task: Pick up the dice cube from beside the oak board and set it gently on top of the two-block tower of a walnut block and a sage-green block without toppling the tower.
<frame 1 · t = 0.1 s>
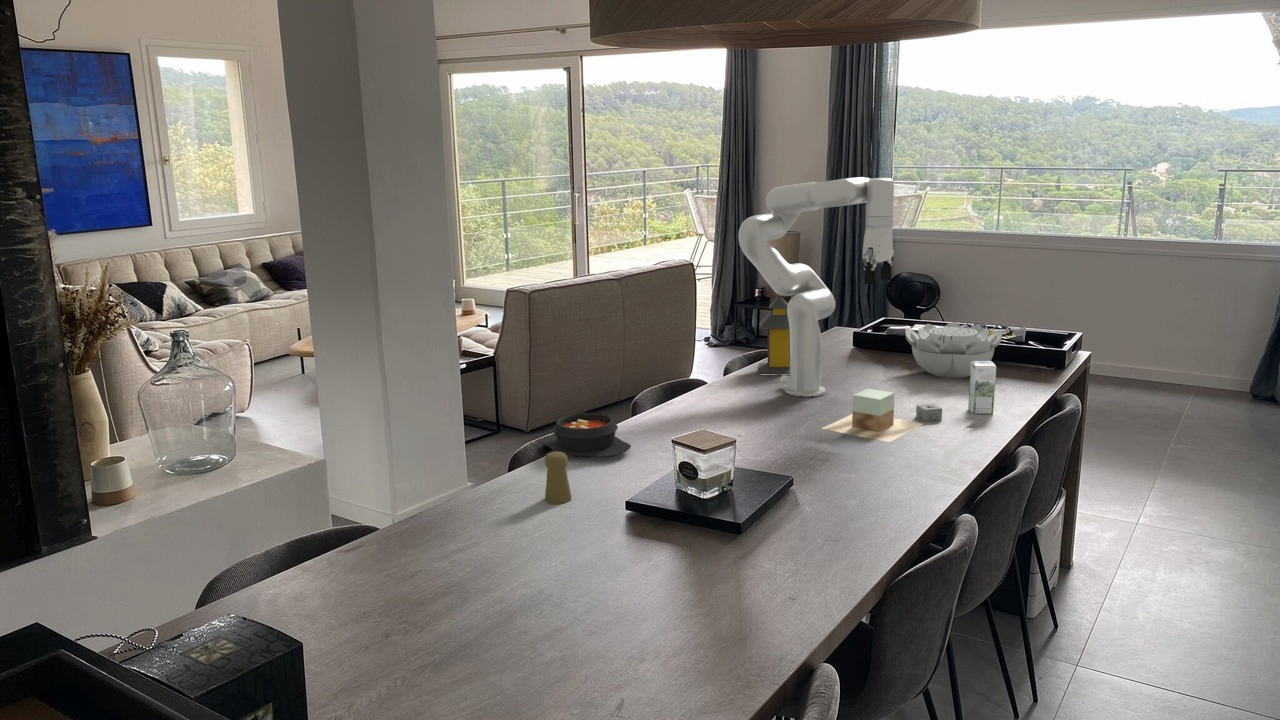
hand: (877, 281, 271), 37 cm above the table, tool pointing down, fingers open, 9 cm apart
sage block: (873, 410, 253), point 6 cm above the table, touching walnut block
oak board: (872, 431, 255), on the table
decorative bowl: (948, 375, 311), on the table
walnut block: (872, 426, 254), point 1 cm above the table, touching oak board, sage block
lantern: (779, 370, 324), on the table
olive peg figure: (558, 500, 214), on the table
casserole: (586, 451, 246), on the table
syrup box: (980, 412, 269), on the table
dice cube: (928, 424, 260), on the table
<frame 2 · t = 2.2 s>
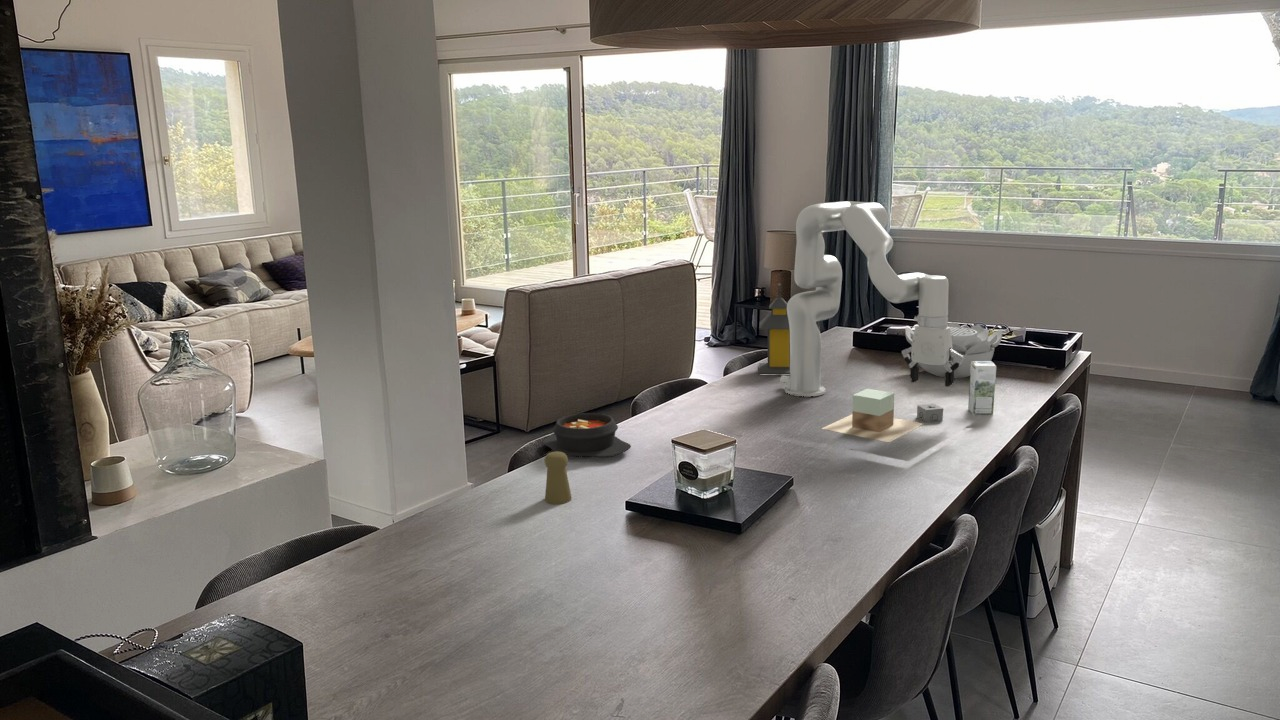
hand: (931, 383, 257), 12 cm above the table, tool pointing down, fingers open, 9 cm apart
nothing on the table moved.
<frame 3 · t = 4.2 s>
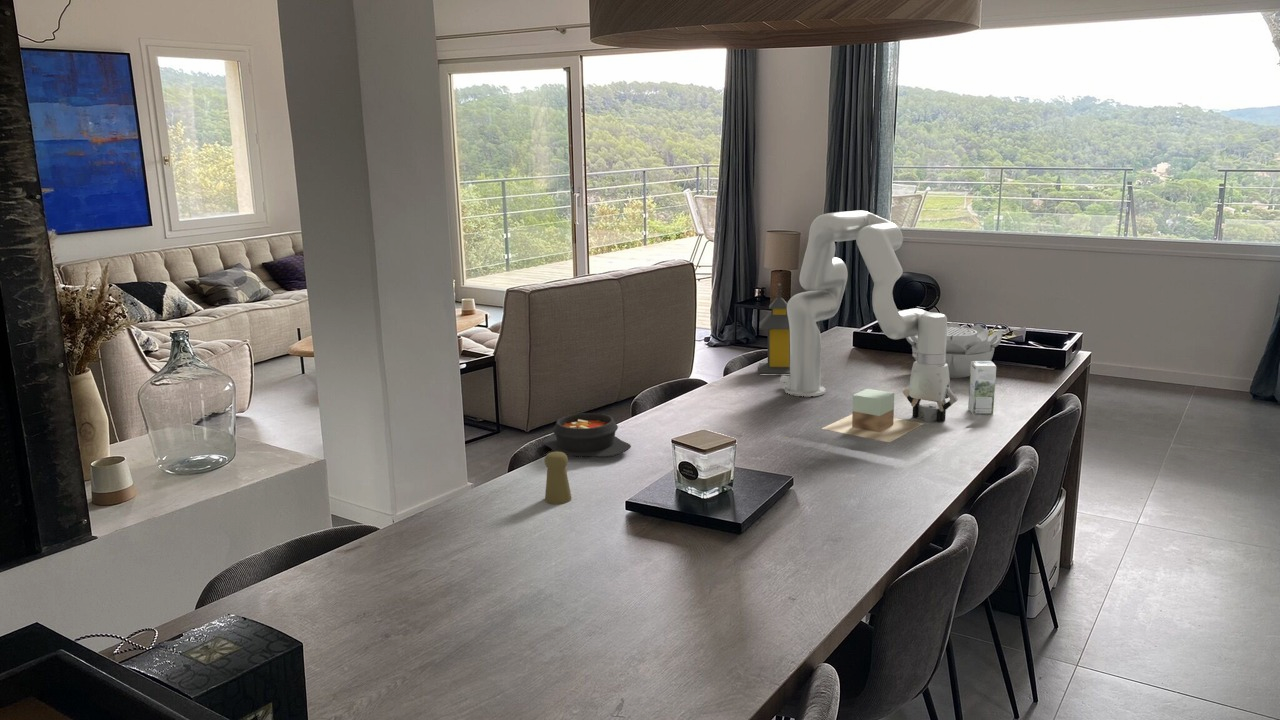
hand: (928, 421, 260), 1 cm above the table, tool pointing down, fingers closed on dice cube, 6 cm apart
dice cube: (930, 424, 259), on the table, touching gripper
everything else where it was.
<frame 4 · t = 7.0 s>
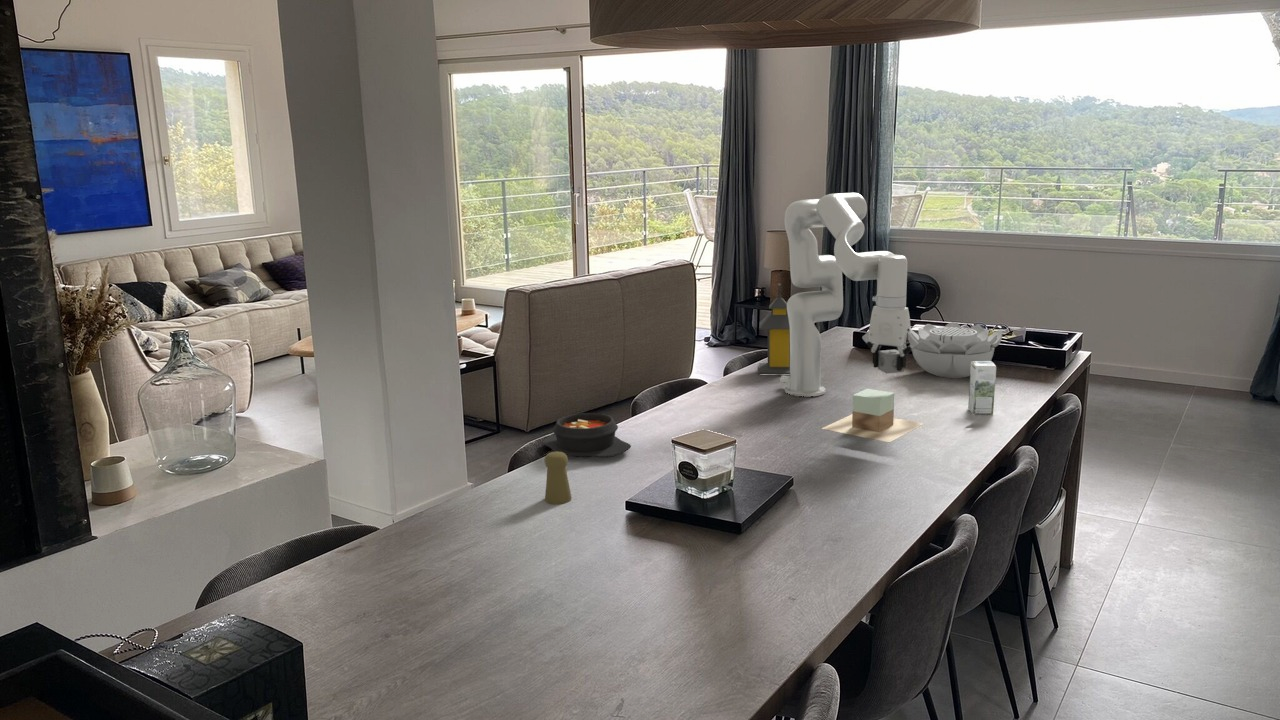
hand: (888, 367, 252), 17 cm above the table, tool pointing down, fingers closed on dice cube, 6 cm apart
dice cube: (890, 371, 252), point 16 cm above the table, touching gripper
everything else where it was.
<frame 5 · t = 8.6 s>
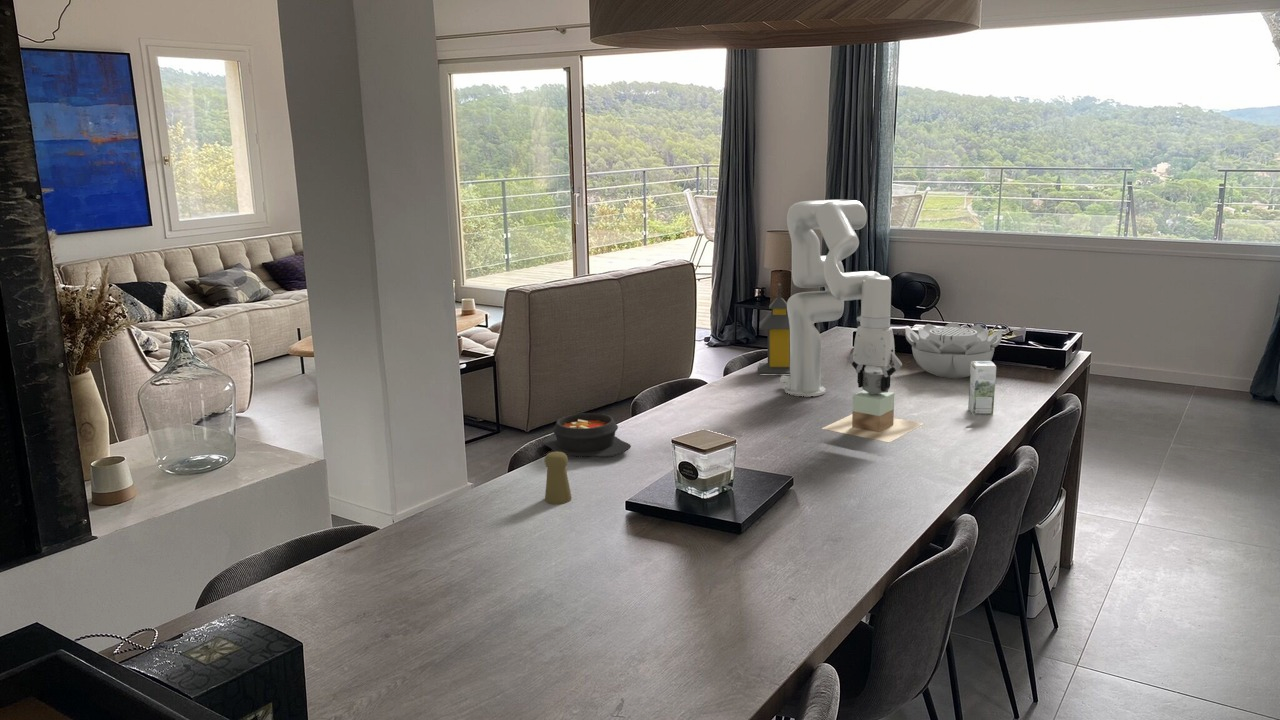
hand: (873, 387, 252), 12 cm above the table, tool pointing down, fingers closed on dice cube, 6 cm apart
dice cube: (875, 391, 252), point 11 cm above the table, touching gripper
everything else where it was.
when the fingers open (12 cm above the table, at t = 9.8 s): dice cube stays where it is, resting on sage block.
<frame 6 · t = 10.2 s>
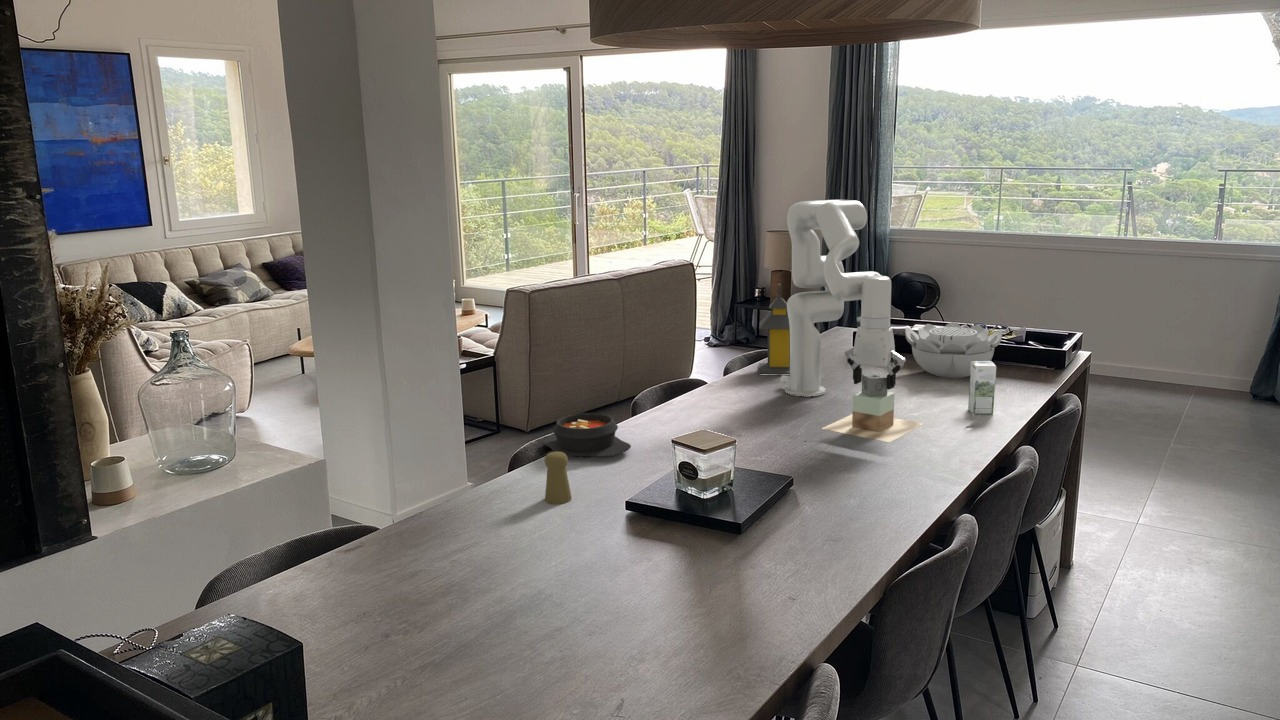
hand: (873, 385, 252), 13 cm above the table, tool pointing down, fingers open, 9 cm apart
sage block: (873, 410, 253), point 6 cm above the table, touching dice cube, walnut block
dice cube: (874, 394, 252), point 10 cm above the table, touching sage block
everything else where it was.
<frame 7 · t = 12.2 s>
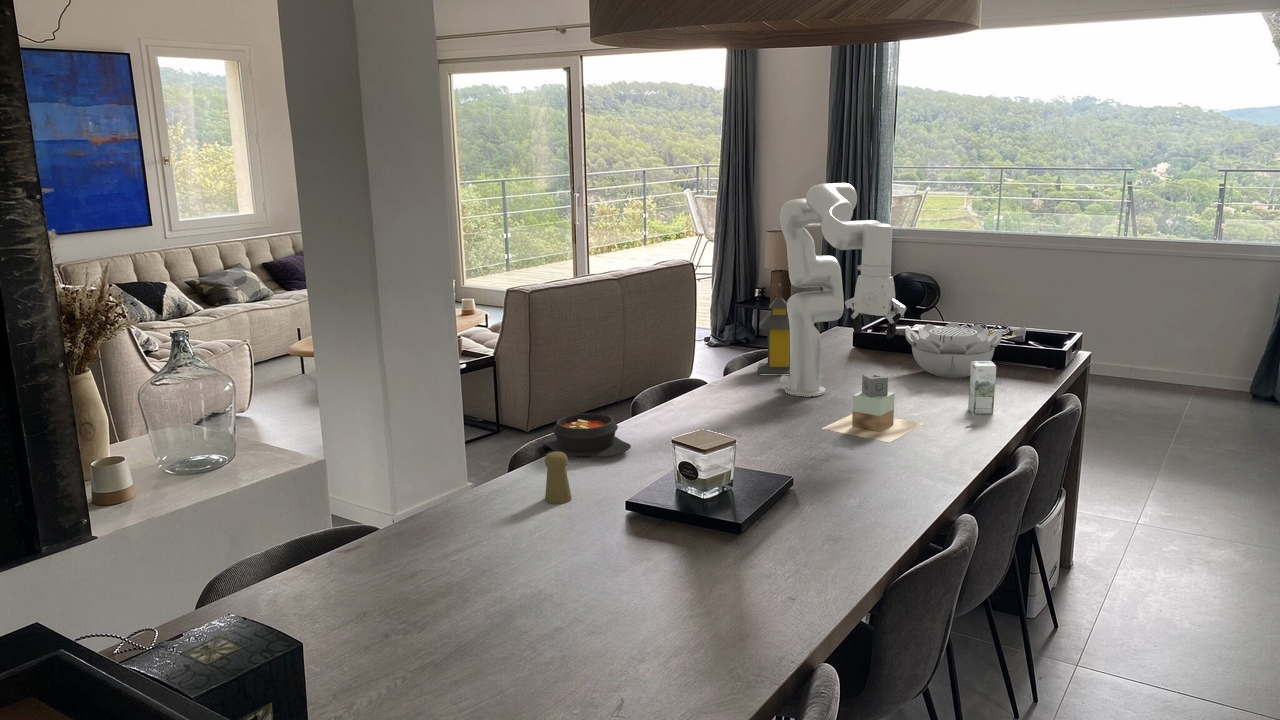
hand: (874, 334, 251), 26 cm above the table, tool pointing down, fingers open, 9 cm apart
nothing on the table moved.
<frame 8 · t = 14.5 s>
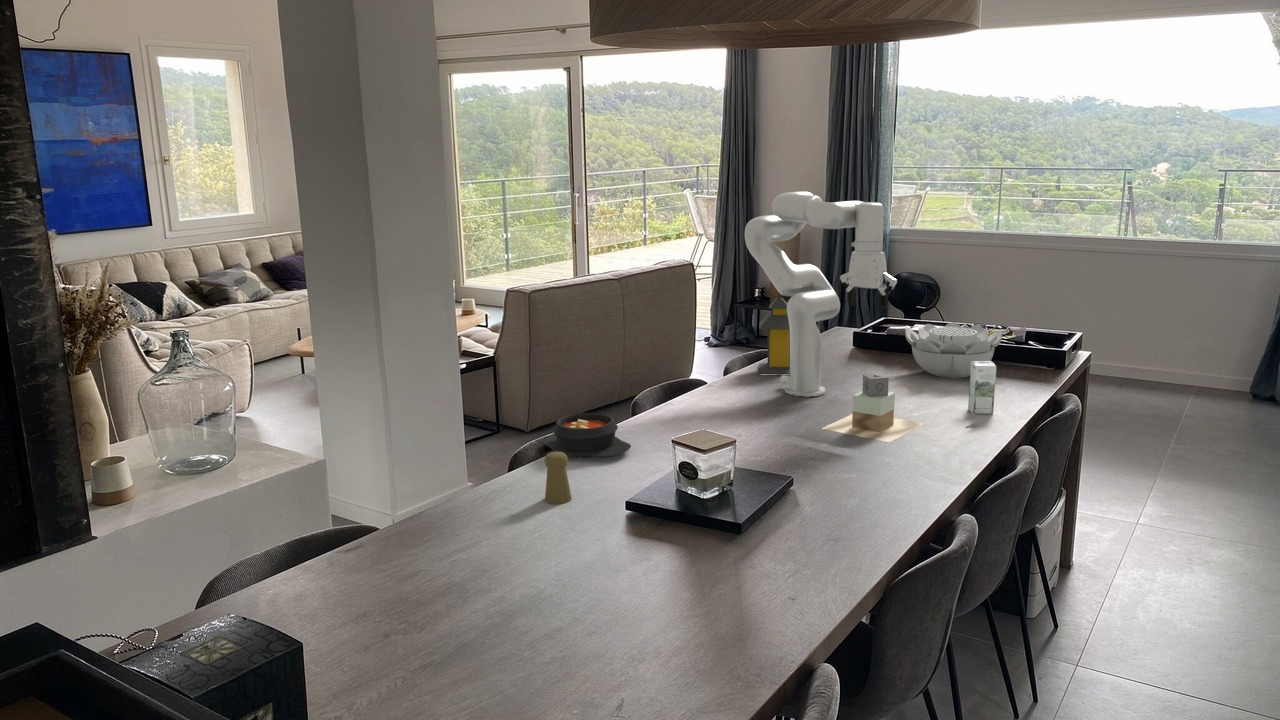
hand: (867, 306, 269), 30 cm above the table, tool pointing down, fingers open, 9 cm apart
nothing on the table moved.
at the end: dice cube 0.3 cm off-centre on the sage block, point 4.3 cm above the sage block's base; sage block 0.1 cm off-centre on the walnut block, point 4.5 cm above the walnut block's base; the gripper is holding nothing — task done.
